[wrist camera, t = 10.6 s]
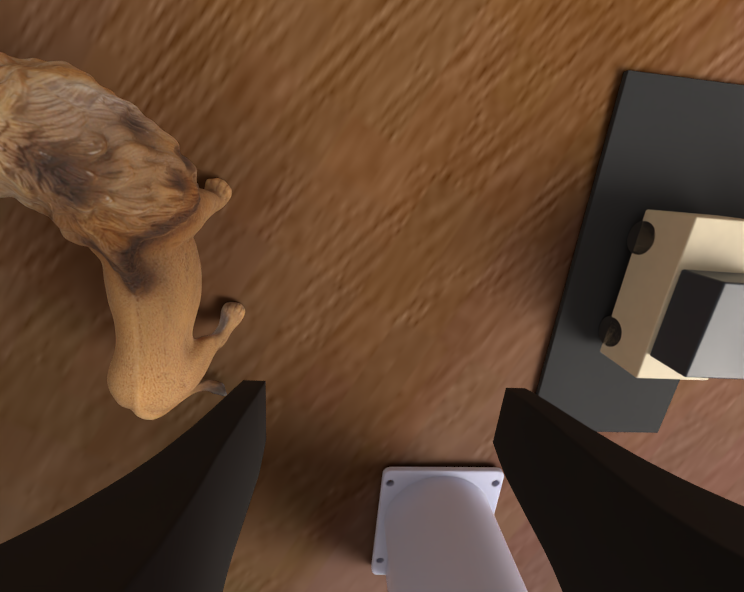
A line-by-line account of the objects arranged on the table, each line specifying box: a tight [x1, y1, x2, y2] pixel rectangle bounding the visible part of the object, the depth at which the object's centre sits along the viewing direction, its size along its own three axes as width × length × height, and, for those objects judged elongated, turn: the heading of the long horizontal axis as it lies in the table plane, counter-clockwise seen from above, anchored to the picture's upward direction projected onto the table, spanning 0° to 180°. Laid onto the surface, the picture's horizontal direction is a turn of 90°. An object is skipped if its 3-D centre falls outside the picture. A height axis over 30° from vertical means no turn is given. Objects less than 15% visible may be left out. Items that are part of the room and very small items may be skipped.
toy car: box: [599, 209, 744, 380], centre depth 18 cm, size 8×4×5 cm, turn 175°
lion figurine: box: [0, 52, 245, 420], centre depth 14 cm, size 15×5×9 cm, turn 5°
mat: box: [536, 70, 744, 433], centre depth 21 cm, size 20×9×1 cm, turn 175°
